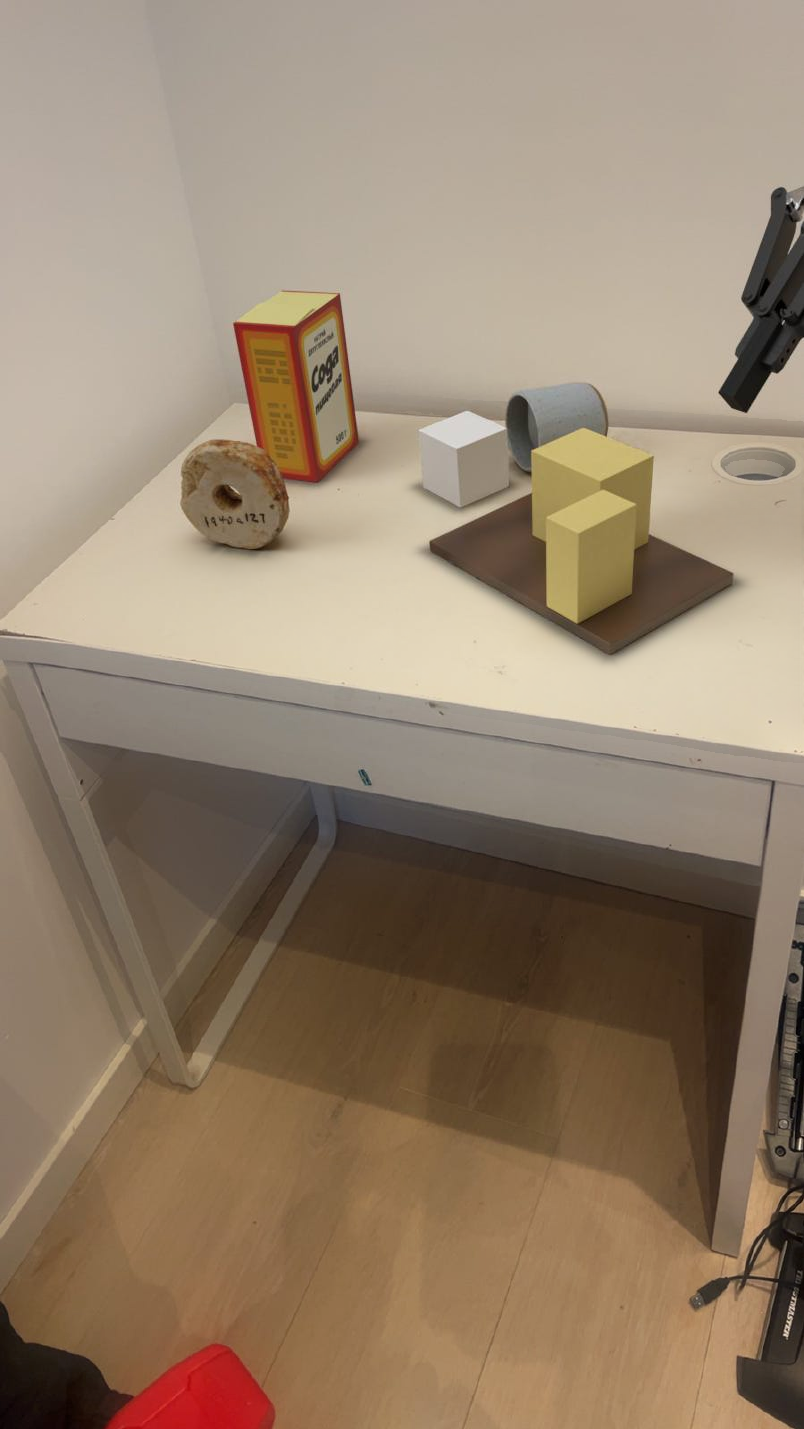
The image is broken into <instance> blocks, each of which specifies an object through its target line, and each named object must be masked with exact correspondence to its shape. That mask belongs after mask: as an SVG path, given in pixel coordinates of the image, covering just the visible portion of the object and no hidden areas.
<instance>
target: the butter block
mask: <svg viewBox="0 0 804 1429" xmlns="http://www.w3.org/2000/svg"><path fill="white" fill-rule="evenodd" d="M654 459H655V456H654V454H652V453H649V452H647V451H643V450H641V449H638V448H636V447H634V446H631V445H629V444H626V443H624V442H621V441H618V440H616V439H613V438H610V437H608V436H607V437H606V436H603V435H601V434H598V433H596V432H593V431H591V430H588V429H586V428H581V429H579V430H577V431H574V432H572V433H570V434H568V435H565V436H563V437H561V438H559V439H556V440H554V441H552V442H550V443H548V444H545V445H543V446H541V447H539V448H536V449H534V450H532V451H531V465H532V472H531V493H532V528H533V536H535V537H537V538H539V539H541V540H543V541H545V542H546V517H547V516H550V515H552V514H554V513H556V512H558V511H560V510H562V509H564V508H566V507H568V506H570V505H572V504H574V503H576V502H578V501H580V500H582V499H585V498H587V497H589V496H591V495H593V494H595V493H597V492H599V491H601V490H605V491H608V492H610V493H612V494H614V495H617V496H619V497H621V498H624V499H626V500H628V501H630V502H633V503H635V504H636V523H635V542H634V550H635V549H637V548H638V547H640V546H642V545H644V544H646V543H648V538H649V534H650V524H651V523H650V521H651V505H652V491H653V490H652V489H653V475H654V474H653V473H654Z"/></svg>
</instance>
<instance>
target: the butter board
mask: <svg viewBox="0 0 804 1429" xmlns="http://www.w3.org/2000/svg"><path fill="white" fill-rule="evenodd" d="M429 551H430V552H431V553H434V554H435V555H437V556H439V557H441V558H442V559H444V560H445V561H447V562H449V563H451V564H453V565H454V566H456V567H457V568H459V569H461V570H463V571H465V572H466V573H468V574H469V575H471V576H474V577H475V578H477V579H478V580H480V581H482V582H483V583H485V584H486V585H489V586H490V587H492V588H494V589H496V590H497V591H499V592H500V593H503V594H504V595H506V596H508V597H509V598H511V599H513V600H515V601H517V602H518V603H520V604H522V605H523V606H525V607H527V608H529V609H530V610H532V611H534V612H536V613H537V614H539V615H540V616H542V617H544V618H545V619H547V620H549V621H551V622H553V623H555V624H556V625H558V626H560V627H561V628H563V629H565V630H567V631H568V632H570V633H572V634H574V635H575V636H577V637H578V638H580V639H582V640H584V641H585V642H587V643H589V644H591V645H593V646H594V647H596V648H598V649H599V650H601V651H602V652H604V653H606V654H608V655H612V654H614V653H617V651H620V650H621V649H623V648H624V647H627V646H628V645H630V644H631V643H633V642H634V641H636V640H639V639H640V638H642V637H643V636H645V635H647V634H648V633H650V632H652V631H654V630H655V629H657V628H659V627H660V626H662V625H663V624H665V623H667V622H669V621H670V620H672V619H674V618H676V617H677V616H679V615H680V614H682V613H684V612H686V611H688V610H689V609H691V608H693V607H695V606H696V605H699V603H701V602H703V601H704V600H706V599H708V598H710V597H711V596H713V595H715V594H717V593H718V592H720V591H722V590H724V589H725V588H727V587H729V586H730V585H732V584H733V581H734V575H735V574H734V572H732V571H730V570H728V569H726V568H724V567H722V566H719V565H717V564H715V563H713V562H710V561H709V560H707V559H704V558H702V557H700V556H697V555H695V554H693V553H691V552H689V551H687V550H685V549H682V548H680V547H679V546H676V545H674V544H671V543H669V542H667V541H665V540H663V539H661V538H658V537H656V536H654V535H652V534H650V533H649V538H648V543H646V544H644V545H642V546H640V547H638V548H637V549H635V550H634V560H633V578H632V594H631V595H629V596H627V597H625V598H624V599H622V600H620V601H618V602H616V603H614V604H613V605H611V606H609V607H607V608H605V609H604V610H602V611H600V612H598V613H596V614H595V615H593V616H591V617H589V618H587V619H586V620H584V621H582V622H580V623H578V624H576V623H575V622H573V621H571V620H569V619H568V618H566V617H564V616H563V615H561V614H559V613H557V612H556V611H554V610H552V609H550V608H549V607H547V587H546V542H545V541H543V540H541V539H539V538H537V537H535V536H533V528H532V492H530V493H528V494H526V495H524V496H522V497H519V498H518V499H515V500H513V501H511V502H509V503H507V504H504V505H502V506H500V507H498V508H497V509H494V510H492V511H490V512H488V513H486V514H483V515H482V516H479V517H477V518H475V519H472V520H471V521H469V522H466V523H465V524H462V525H461V526H459V527H456V528H454V529H452V530H450V531H448V532H446V533H443V534H442V535H439V536H437V537H435V538H433V539H431V540H429Z"/></svg>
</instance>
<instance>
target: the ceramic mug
mask: <svg viewBox="0 0 804 1429" xmlns="http://www.w3.org/2000/svg"><path fill="white" fill-rule="evenodd" d="M504 425H505V426H504V427H505V428H507V439H508V448H509V450H510V452H511V456H512V457H513V459H514V461H515V462H516V464H517V466H518V467H520V468H521V470H523V471H525V472H529V473H530V472H531V473H532V465H531V451H532V450H534V449H536V448H539V447H541V446H543V445H545V444H548V443H550V442H552V441H554V440H556V439H559V438H561V437H563V436H565V435H568V434H570V433H572V432H574V431H577V430H579V429H581V428H586V429H588V430H591V431H593V432H596V433H598V434H601V435H603V436H606V437H608V433H609V414H608V408H607V405H606V402H605V400H604V398H603V396H602V394H601V392H600V390H598V389H597V387H595V386H594V385H593V384H591V383H590V382H589V383H588V382H581V381H580V382H579V381H577V382H576V381H575V382H574V381H573V382H567V383H562V384H556V385H549V386H544V387H537V388H536V387H535V388H531V389H524V390H518V391H515V392H514V393H513V394H512V395H511V396H510V397H509V399H508V401H507V405H506V408H505V416H504Z"/></svg>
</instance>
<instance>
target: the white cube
mask: <svg viewBox="0 0 804 1429" xmlns="http://www.w3.org/2000/svg"><path fill="white" fill-rule="evenodd" d="M417 434H418V435H417V436H418V444H419V456H420V467H421V468H420V469H421V478H422V488H423V489H425V490H427V491H429V492H431V493H433V494H435V495H436V496H438V497H440V498H441V499H443V500H445V501H447V502H449V503H451V504H453V505H455V506H456V507H458V508H460V509H461V508H463V507H465V506H468V505H470V504H473V503H474V502H478V501H479V500H481V499H485V498H486V497H488V496H491V495H493V494H496V493H498V492H500V491H502V490H504V489H507V488H509V487H510V478H509V476H510V475H509V472H510V471H509V444H508V439H507V428H506V426H503V425H500V424H499V423H496V422H494V421H492V420H489V419H487V418H485V417H483V416H481V415H479V414H476V413H474V412H472V411H469V410H465V411H462V412H460V413H458V414H455V415H452V416H450V417H447V418H445V419H443V420H440V421H437V422H434V423H432V424H429V425H427V426H425V427H422V428H420V429H417Z"/></svg>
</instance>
